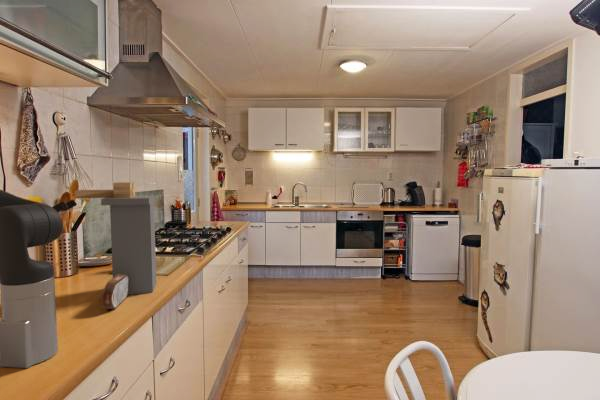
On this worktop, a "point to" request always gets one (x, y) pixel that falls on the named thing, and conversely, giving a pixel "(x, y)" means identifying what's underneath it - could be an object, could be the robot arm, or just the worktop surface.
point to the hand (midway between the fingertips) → (70, 202)
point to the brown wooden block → (109, 191)
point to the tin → (115, 291)
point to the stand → (133, 241)
